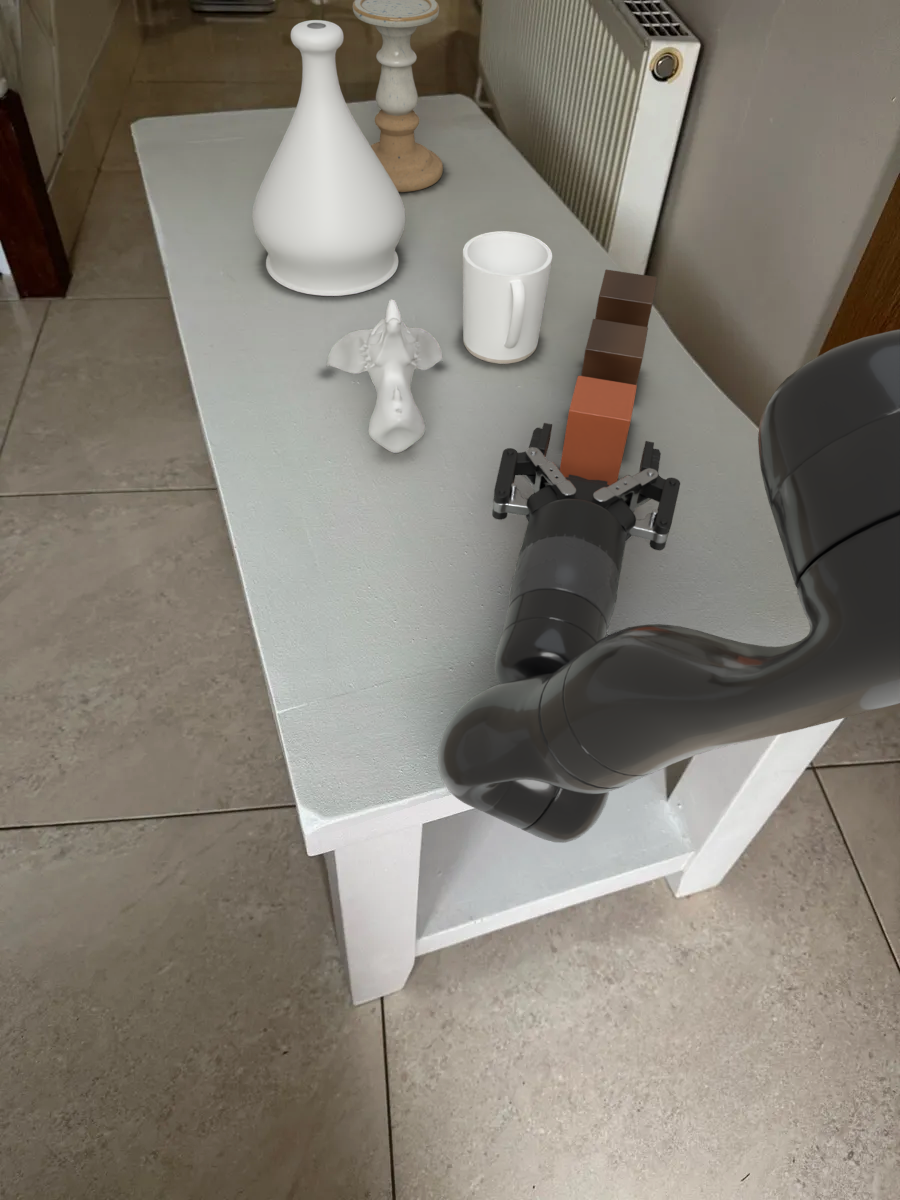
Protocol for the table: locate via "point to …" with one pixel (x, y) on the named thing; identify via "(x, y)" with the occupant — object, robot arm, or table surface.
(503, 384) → the table surface
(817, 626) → the robot arm
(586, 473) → the terracotta block
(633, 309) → the walnut block far
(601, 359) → the walnut block mid
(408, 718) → the table surface
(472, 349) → the mug
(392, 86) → the candle holder
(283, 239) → the vase
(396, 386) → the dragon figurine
